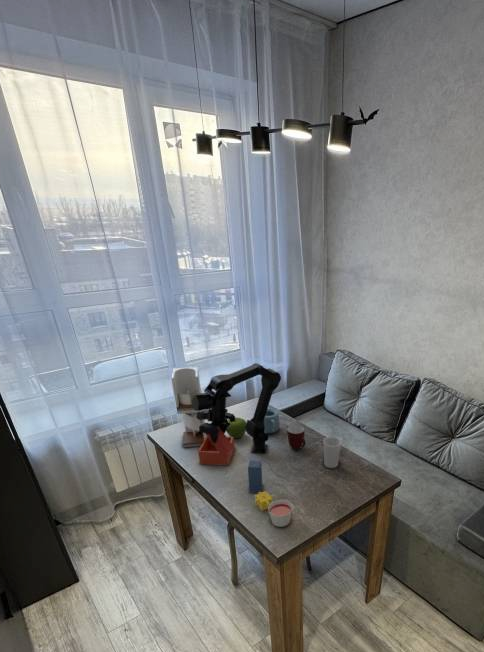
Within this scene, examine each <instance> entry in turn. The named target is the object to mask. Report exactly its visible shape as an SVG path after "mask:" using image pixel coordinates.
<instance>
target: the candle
mask: <svg viewBox="0 0 484 652" xmlns="http://www.w3.org/2000/svg"><path fill="white" fill-rule="evenodd" d="M267 510H268V513H269V517H270V520H271V523H272V525H273V526H276V527H278V528H281V527H286V526H288V525H289V524H290V522H291V520H292V516H293V512H294V511H293V510H294V505H293V503H292V502H291V501H289V500H287V499H276V500H272V503H270V505H269V507H268V508H267Z"/></svg>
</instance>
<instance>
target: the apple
mask: <svg viewBox="0 0 484 652" xmlns="http://www.w3.org/2000/svg"><path fill="white" fill-rule="evenodd" d="M227 421H228V423H231V424H230V426H229V427H228V429H227V430H226V432H225V433H227V434H228V437H234V439H240V438H241V437H243V436H244V435H245V433H246V428H245V426H246V424H247V420H245V419H244V418H242V417H238V416H237V417H236V416H235V421H233V422H230V419H227Z"/></svg>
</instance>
